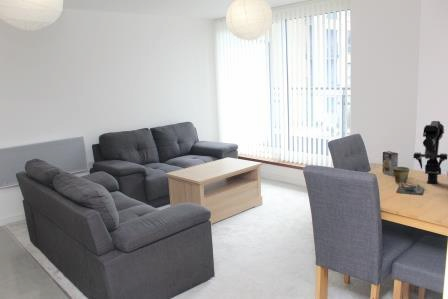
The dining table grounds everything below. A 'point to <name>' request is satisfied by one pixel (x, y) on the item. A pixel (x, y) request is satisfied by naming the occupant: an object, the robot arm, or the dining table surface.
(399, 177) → the ceramic cup
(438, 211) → the dining table surface
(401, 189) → the hub plate
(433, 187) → the dining table surface
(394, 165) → the coffee box
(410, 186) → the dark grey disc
